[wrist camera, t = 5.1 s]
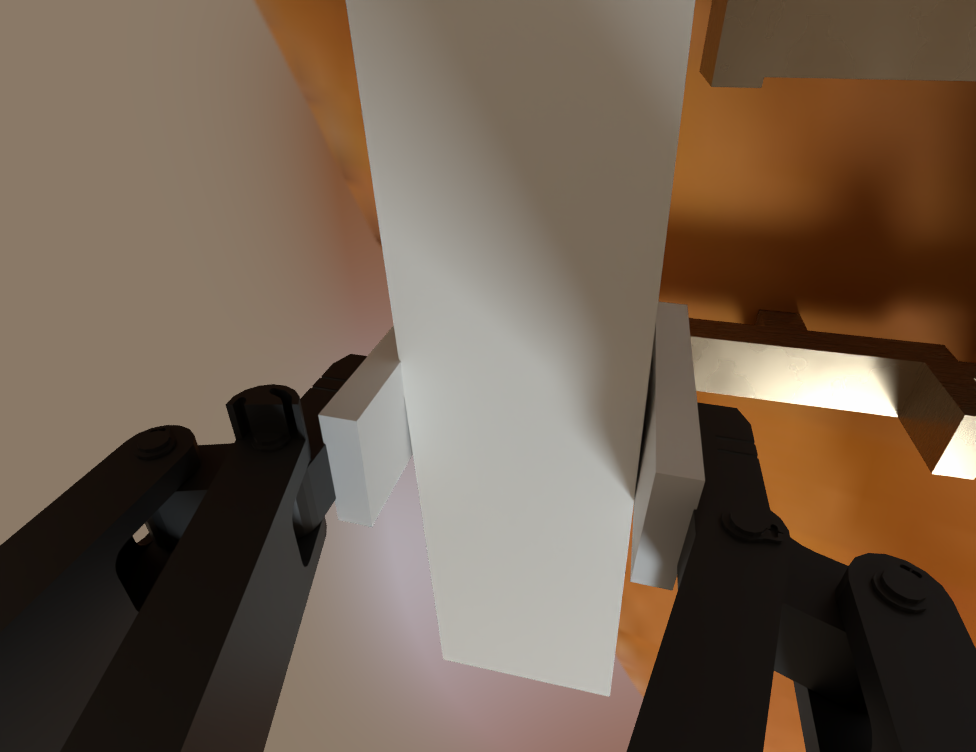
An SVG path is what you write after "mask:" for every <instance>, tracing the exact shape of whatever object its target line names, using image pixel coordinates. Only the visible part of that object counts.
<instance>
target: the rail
mask: <svg viewBox="0 0 976 752" xmlns="http://www.w3.org/2000/svg"><path fill="white" fill-rule="evenodd" d="M346 6H347V13H348V20H349V26H350V33H351V40H352V47H353V53H354V60H355V67H356V74H357V80H358V87H359V94H360V101H361V107H362V114H363V121H364V128H365V134H366V141H367V148H368V155H369V161H370V168H371V175H372V182H373V188H374V195H375V202H376V209H377V215H378V222H379V229H380V236H381V242H382V249H383V256H384V263H385V269H386V276H387V283H388V289H389V296H390V303H391V309H392V317H393V324H394V330H395V337H396V344H397V351H398V357H399V361H401V365H402V378H403V390H404V398H405V405H406V411H407V418H408V425H409V432H410V438H411V445H412V452H413V458H414V465H415V472H416V479H417V485H418V492H419V499H420V506H421V513H422V519H423V526H424V533H425V540H426V546H427V553H428V560H429V566H430V573H431V580H432V587H433V594H434V600H435V607H436V614H437V621H438V627H439V634H440V641H441V647H442V655H443V659H444V660H448V661H453V662H457V663H462V664H466V665H471V666H475V667H479V668H484V669H489V670H493V671H497V672H502V673H506V674H511V675H515V676H520V677H524V678H529V679H534V680H538V681H542V682H546V683H551V684H555V685H560V686H565V687H569V688H573V689H578V690H582V691H587V692H591V693H596V694H600V695H605V696H609V697H610V691H611V683H612V675H613V667H614V658H615V650H616V642H617V634H618V626H619V618H620V610H621V601H622V593H623V585H624V577H625V569H626V561H627V552H628V544H629V536H630V528H631V520H632V512H633V504H634V495H635V487H636V479H637V471H638V463H639V455H640V446H641V438H642V430H643V422H644V414H645V406H646V398H647V389H648V381H649V373H650V365H651V357H652V349H653V340H654V332H655V324H656V316H657V308H658V300H659V292H660V283H661V275H662V267H663V259H664V251H665V243H666V234H667V226H668V218H669V210H670V202H671V194H672V186H673V177H674V169H675V161H676V153H677V145H678V137H679V128H680V120H681V112H682V104H683V96H684V88H685V80H686V71H687V63H688V55H689V47H690V39H691V31H692V22H693V14H694V6H695V0H346Z"/></svg>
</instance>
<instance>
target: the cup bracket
mask: <svg viewBox="0 0 976 752" xmlns="http://www.w3.org/2000/svg"><path fill="white" fill-rule="evenodd" d="M700 73H701V74H702V75H703V77H704V78H705V79H706V81H707V82H708V83H709V84H710V86H711V87H745V88H761V87H762V83H763V79H764V77H789V78H839V79H890V80H940V81H976V0H712V5H711V10H710V16H709V21H708V27H707V33H706V38H705V44H704V49H703V55H702V61H701V66H700ZM689 327H690V337H691V347H692V357H693V367H694V376H695V386H696V391H703V392H710V393H718V394H726V395H733V396H741V397H749V398H756V399H764V400H771V401H779V402H787V403H794V404H802V405H810V406H817V407H825V408H833V409H840V410H848V411H856V412H863V413H871V414H879V415H886V416H894V417H898V418H899V420H900V421H901V423H902V425H903V426H904V428H905V430H906V431H907V433H908V435H909V436H910V438H911V440H912V441H913V443H914V445H915V446H916V448H917V450H918V451H919V453H920V455H921V456H922V458H923V460H924V461H925V463H926V465H927V466H928V468H929V470H930V471H931V473H932V474H938V475H945V476H952V477H959V478H965V479H972V480H974V478H975V477H976V363H971V362H962V361H958V360H957V359H956V358H955V357H954V356H953V354H952V353H951V352H950V351H949V350H948V349H947V348H946V346H945V345H940V344H930V343H921V342H911V341H902V340H892V339H883V338H873V337H864V336H854V335H845V334H835V333H826V332H816V331H807V328H806V326H805V324H804V322H803V320H802V318H801V316H800V314H795V313H786V312H776V311H766V310H759V313H758V317H757V320H756V324H755V325H750V324H741V323H731V322H722V321H712V320H703V319H693V318H689Z"/></svg>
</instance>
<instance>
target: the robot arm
mask: <svg viewBox="0 0 976 752" xmlns="http://www.w3.org/2000/svg"><path fill="white" fill-rule="evenodd" d="M226 408H227V411H228V414H229V418H230V421H231V424H232V427H233V430H234V434H235V437H236V441H235V443H231V444H216V445H215V444H214V445H197V442H196V439H195V436H194V434H193V433H192V432H191V430H190V429H188V428H185V427H182V426H178V425H166V426H160V427H155V428H151V429H148V430H146V431H144V432H141V433H138V434H137V435H135V436H133V437H132V438H130V439H129V440H127V441H126V442H125V443H123V444H122V445H121V446H120V447H118V448H117V449H116V450H115V451H114V452H112V453H111V454H110V455H109V456H108V457H106V458H105V459H104V460H103V461H102V462H101V463H99V464H98V465H97V466H96V467H94V468H93V469H92V470H91V471H90V472H88V473H87V474H86V475H85V476H84V477H82V478H81V479H80V480H79V481H78V482H76V483H75V484H74V485H73V486H72V487H70V488H69V489H68V490H67V491H65V492H64V493H63V494H62V495H61V496H60V497H58V498H57V499H56V500H55V501H53V502H52V503H51V504H50V505H49V506H48V507H46V508H45V509H44V510H43V511H41V512H40V513H39V514H38V515H37V516H35V517H34V518H33V519H32V520H31V521H29V522H28V523H27V524H26V525H25V526H23V527H22V528H21V529H20V530H19V531H17V532H16V533H15V534H14V535H12V536H11V537H10V538H9V539H8V540H6V541H5V542H4V543H3V544H2V545H0V752H263V751H264V748H265V744H266V741H267V737H268V733H269V730H270V727H271V723H272V720H273V717H274V713H275V710H276V706H277V703H278V699H279V696H280V692H281V689H282V686H283V682H284V679H285V675H286V671H287V668H288V664H289V661H290V658H291V655H292V651H293V648H294V644H295V641H296V637H297V634H298V630H299V627H300V624H301V620H302V616H303V613H304V610H305V606H306V603H307V599H308V596H309V592H310V589H311V586H312V582H313V579H314V575H315V572H316V568H317V564H318V561H319V558H320V555H321V551H322V548H323V544H324V541H325V537H326V528H327V527H326V526H327V525H326V520H325V514H326V513H327V511H328V510H329V508H330V507H331V505H332V504H333V502H334V501H335V505H336V510H337V515H338V520H340V521H345V522H350V523H355V524H360V525H364V526H369V527H373V525H374V523H375V521H376V520H377V518H378V516H379V514H380V512H381V511H382V509H383V507H384V505H385V503H386V502H387V500H388V498H389V496H390V494H391V493H392V491H393V489H394V487H395V485H396V484H397V482H398V479H399V478H400V476H401V475H402V473H403V471H404V469H405V467H406V466H407V464H408V462H409V460H410V458H411V456H412V455H413V452H412V445H411V438H410V432H409V425H408V418H407V411H406V405H405V398H404V390H403V378H402V365H401V361H399V357H398V351H397V344H396V337H395V330H394V326H393V327H392V328H391V329H390V330H389V332H388V333H387V334H386V335H385V336H384V338H383V339H382V340H381V341H380V342H379V344H378V345H377V346H376V347H375V348H374V349H373V350H372V352H371V353H370V354H369V355H368V356H362V355H355V354H350V355H348V356H346V357H344V358H342V359H341V360H339V361H337V362H335V363H333V364H332V365H331V366H330V367H329V369H328V370H327V371H326V372H325V373H324V374H323V375H322V378H319V379H318V380H317V381H316V383H315V384H314V385H313V388H310V389H309V390H308V391H307V392H306V393H305V394H304V396H303V397H302V398H301V399H300V397H299V395H298V394H297V392H296V391H295V390H293V389H291V388H289V387H287V386H283V385H274V384H272V385H264V386H257V387H254V388H250V389H247V390H244V391H243V392H241V393H239V394H237V395H235V396H234V397H233V398H232V399H231V400H230V401H229V402H228V403H227V404H226ZM757 456H758V454H757V450H756V446H755V444H754V437H753V432H752V428H751V424H750V423H749V422H748V421H747V420H746V418H745V417H744V416H743V415H742V414H741V412H740V411H739V410H738V409H737V408H732V407H725V406H718V405H711V404H704V403H697V396H696V386H695V376H694V367H693V357H692V347H691V337H690V327H689V318H688V308H687V305H684V304H675V303H666V302H658V308H657V316H656V324H655V332H654V340H653V349H652V357H651V365H650V373H649V381H648V389H647V398H646V406H645V414H644V422H643V430H642V438H641V446H640V455H639V463H638V471H637V479H636V487H635V495H634V516H633V537H632V558H631V579H630V582H635V583H640V584H644V585H649V586H654V587H659V588H663V589H668V590H673V587H674V584H675V580H676V577H678V592H677V595H676V599H675V602H674V605H673V608H672V611H671V614H670V617H669V620H668V624H667V627H666V630H665V633H664V636H663V639H662V642H661V646H660V649H659V652H658V655H657V658H656V661H655V664H654V668H653V671H652V674H651V677H650V680H649V683H648V686H647V689H646V693H645V696H644V699H643V702H642V705H641V708H640V712H639V715H638V718H637V721H636V724H635V727H634V730H633V734H632V736H631V740H630V743H629V746H628V749H627V752H763V747H764V740H765V732H766V725H767V717H768V710H769V702H770V695H771V687H772V680H773V672H774V671H776V672H778V673H780V674H782V675H784V676H786V677H788V678H789V679H791V680H793V681H794V687H795V692H796V698H797V703H798V709H799V714H800V720H801V726H802V731H803V737H804V742H805V748H806V752H976V648H975V646H974V644H973V642H972V640H971V638H970V636H969V634H968V632H967V629H966V627H965V625H964V623H963V621H962V619H961V617H960V615H959V613H958V611H957V608H956V606H955V604H954V602H953V601H952V599H951V598H950V596H949V595H948V593H947V592H946V591H945V589H944V588H943V586H942V585H941V584H939V583H938V582H937V581H936V580H935V579H934V578H932V577H931V576H930V575H929V574H928V573H926V572H925V571H923V570H922V569H920V568H918V567H916V566H914V565H913V564H911V563H909V562H907V561H905V560H902V559H899V558H896V557H893V556H890V555H887V554H874V553H867V554H864V555H861V556H858V557H855V558H854V560H853V561H852V562H851V563H850V565H849V566H847V565H845V564H842V563H840V562H837V561H835V560H833V559H830V558H828V557H826V556H823V555H821V554H818V553H816V552H814V551H812V550H810V549H808V548H806V547H804V546H802V545H801V544H799V543H798V542H796V541H795V540H793V539H792V538H790V535H789V530H788V529H787V527H786V526H785V524H784V523H783V521H782V520H781V518H779V517H778V516H777V515H776V514H775V513H773V512H772V511H771V510H770V507H769V503H768V498H767V494H766V490H765V485H764V481H763V476H762V472H761V468H760V463H759V459H758V458H757ZM144 523H145V524H146V527H147V529H148V531H149V533H148V534H147V536H146V537H145V538H143V539H142V540H141V541H139V542H138V543H136V542H135V540H134V538H133V534H134V533H135V532H136V531H137V530H138V529H139V528H140V527H141V526H142V525H143V524H144Z"/></svg>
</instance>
